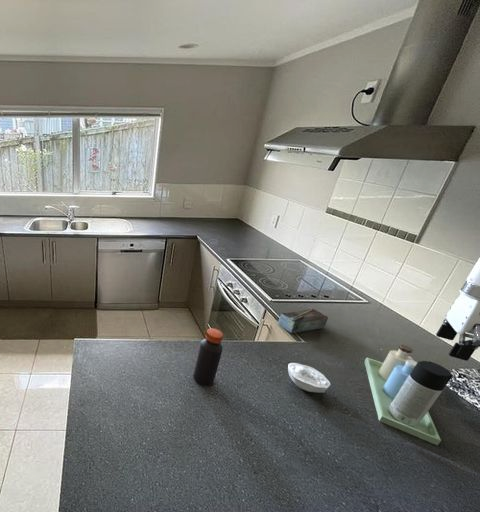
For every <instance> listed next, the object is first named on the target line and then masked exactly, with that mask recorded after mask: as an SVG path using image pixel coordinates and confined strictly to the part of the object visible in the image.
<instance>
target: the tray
mask: <svg viewBox="0 0 480 512" xmlns="http://www.w3.org/2000/svg"><path fill="white" fill-rule="evenodd" d="M363 362H364V366H365V370H366V373H367V378H368V381H369V386H370V390H371V394H372V397H373V402H374V407H375V410H376V414H377V419H378V421H379V422H381V423H383V424H386V425H387V426H390V427H392V428H395V429H397V430H400V431H402V432H403V433H404V432H405V433H407V434H409V435H411V436H414V437H415V438H419V439H421V440H423V441H426V442H428V443H430V444H433V445H436V446H439V444H440V443H441V442H442V438H441V437H440V435H439V433H438V430H437V428H436V426H435V423H434V421H433V418H432V416H431V414H430V412H429V411H428V412H427V413H426V415H425V416H424V417H423V419H422V420H421V422H420V423H419V424H418V425H417V426H414V427H413V426H408V425H405V424H403V423H401V422H399V421H397V420H396V419H395V418H394V417H392V416H391V415H390V413H389V412H388V409H389V406H390V405H391V403H392V402H393V400H394V399H392V398H390V397H389V396H387V395H386V394H385V393H384V392H383V390H382V388H383V387H384V385H385V383H386V382H387V381H385V380H383V379H382V378H381V377H380V376H379V375H378V371H379V369H380V368H381V366H382V364H383V362H382V361H379V360H376V359H373V358H370V357H365V359H364V361H363Z"/></svg>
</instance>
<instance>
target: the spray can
mask: <svg viewBox="0 0 480 512" xmlns="http://www.w3.org/2000/svg"><path fill="white" fill-rule="evenodd" d="M452 378H453V374H452V372H451V371H450V370H449V369H447V368H445V367H444V366H442V365H440V364H438V363H436V362H433V361H430V360H429V361H427V360H419V361H417V364H416V366H415V367H414V369H413V370H412V372H411V373H410V375H409V376H408V378H407V379H406V381H405V383H404V384H403V386H402V387H401V389H400V391H399V392H398V394H397V395H396V397H395V398H394V400H393V402H392V403H391V405H390V406H389V409H388V412H389V413H390V415H391V416H392V417H394V418H395V419H396V420H397V421H399V422H401V423H403V424H405V425H408V426H413V427H414V426H417V425H418V424H419V423H420V422H421V420H422V419H423V417H424V416H425V415H426V413H427V412H429V410H430V409H431V408H432V407H433V405H434V403H436V400H437V399H438V398H439V397H440V395H441V394H442V392H443V391H444V389H445V388H446V386H447V385H448V384H449V382H450V380H451V379H452Z"/></svg>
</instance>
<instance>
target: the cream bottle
mask: <svg viewBox="0 0 480 512" xmlns="http://www.w3.org/2000/svg"><path fill="white" fill-rule="evenodd" d="M413 352H414V349H413V348H412V347H410V346H408V345H405V344H400V345H399V346H398V350H393V349H392V350H391V349H390V350H389V352H388V354H387V355H386V357H385V358H384V361H383V362H382V363H383V364H382V366H381V368H380V369H379V371H378V375H379V376H380V377H381V378H382V379H383V380H385V381H387V380H388V378H389V377H390V375H391V373H392V372H393V370H394V368H395V366H397V365H402V366H405V364H406V363H405V362H406V361H407V360H413V361H415V360H414V358H413V357H411V356H410V355H411V354H412V353H413Z"/></svg>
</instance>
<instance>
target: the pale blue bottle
mask: <svg viewBox="0 0 480 512" xmlns="http://www.w3.org/2000/svg"><path fill="white" fill-rule="evenodd" d="M413 360H414V359H413ZM413 360H407V361H406V362H405V363H406V364H405V366H402V365H397V366H395V368H394V370H393V372H392V373H391V375H390V377H389V378H388V380H387V382H386V383H385V385H384V387H383V388H382V390H383V392H384V393H385V394H386V395H387V396H389V397H390V398H392V399H394V398H395V397H396V395H397V394H398V392H399V391H400V389H401V387H402V386H403V384H404V383H405V381H406V379H407V378H408V376H409V375H410V373H411V372H412V370H413V369H414V367H415V366H416V364H417V363H418V361H415V360H414V361H413Z"/></svg>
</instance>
